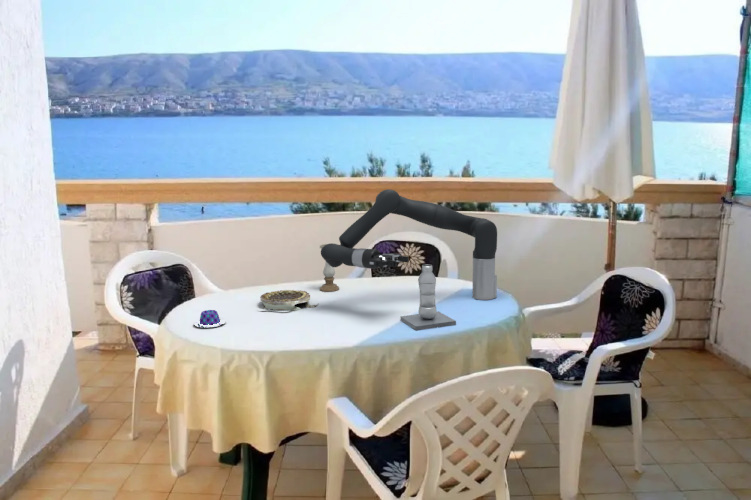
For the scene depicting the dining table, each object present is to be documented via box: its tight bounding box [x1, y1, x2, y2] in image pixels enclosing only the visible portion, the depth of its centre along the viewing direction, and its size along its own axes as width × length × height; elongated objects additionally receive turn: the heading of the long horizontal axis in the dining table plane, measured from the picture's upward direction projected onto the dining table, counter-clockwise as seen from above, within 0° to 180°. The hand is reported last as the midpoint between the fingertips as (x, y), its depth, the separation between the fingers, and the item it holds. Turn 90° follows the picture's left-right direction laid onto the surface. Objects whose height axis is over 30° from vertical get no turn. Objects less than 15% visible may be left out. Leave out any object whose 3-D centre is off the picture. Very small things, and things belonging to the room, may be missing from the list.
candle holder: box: [319, 243, 340, 293], centre depth 291 cm, size 9×9×20 cm
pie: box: [259, 289, 318, 314], centre depth 270 cm, size 28×27×5 cm
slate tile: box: [399, 310, 457, 331], centre depth 239 cm, size 16×14×2 cm
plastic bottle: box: [417, 263, 438, 319], centre depth 238 cm, size 6×7×20 cm
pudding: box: [199, 309, 221, 325], centre depth 242 cm, size 12×12×5 cm
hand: (402, 261), depth 241 cm, fingers open, 8 cm apart
